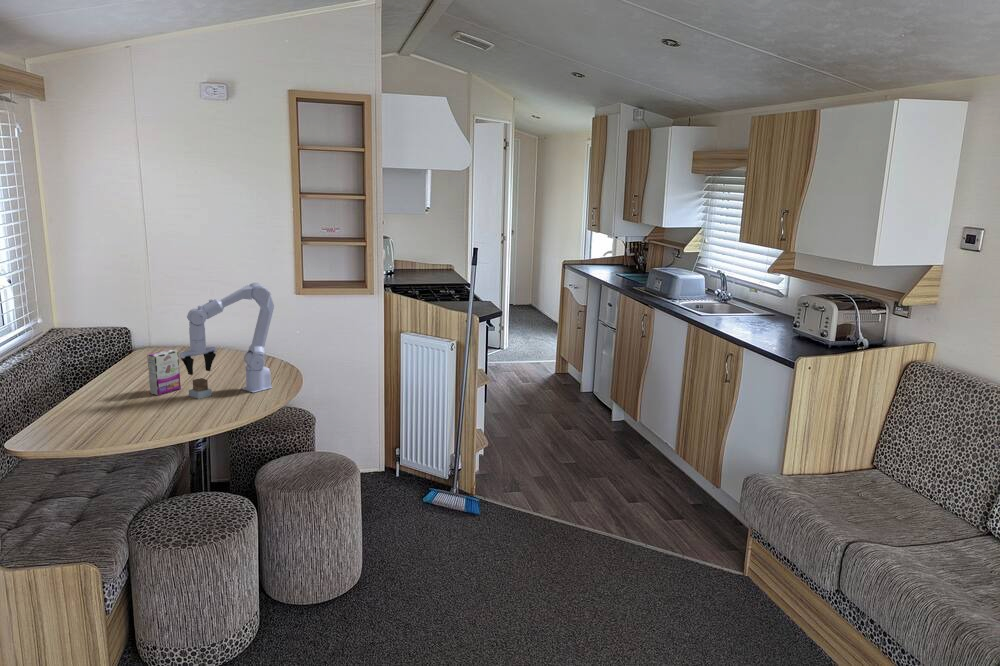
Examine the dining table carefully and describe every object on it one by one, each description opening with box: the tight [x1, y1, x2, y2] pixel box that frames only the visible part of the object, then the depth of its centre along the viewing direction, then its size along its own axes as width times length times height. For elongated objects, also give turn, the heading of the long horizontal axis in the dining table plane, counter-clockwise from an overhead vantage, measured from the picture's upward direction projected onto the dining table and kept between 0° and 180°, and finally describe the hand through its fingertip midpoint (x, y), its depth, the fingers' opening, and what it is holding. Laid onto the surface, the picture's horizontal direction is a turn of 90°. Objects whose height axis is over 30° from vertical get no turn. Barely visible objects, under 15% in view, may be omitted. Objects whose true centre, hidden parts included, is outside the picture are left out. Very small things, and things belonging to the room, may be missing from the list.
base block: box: [188, 388, 213, 400], centre depth 283 cm, size 6×6×3 cm
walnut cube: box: [192, 377, 209, 392], centre depth 283 cm, size 4×4×4 cm
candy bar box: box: [146, 348, 182, 396], centre depth 285 cm, size 11×5×16 cm, turn 155°
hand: (199, 372), depth 282 cm, fingers open, 7 cm apart
